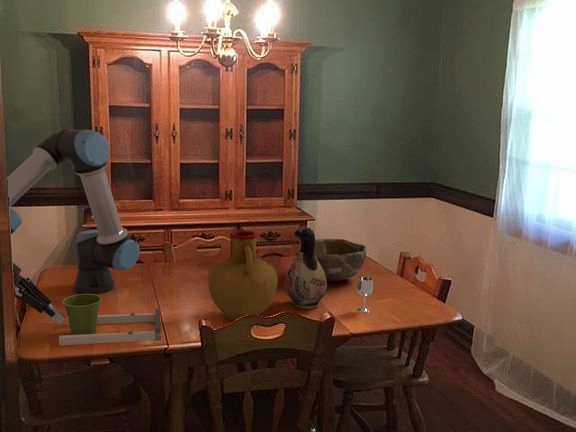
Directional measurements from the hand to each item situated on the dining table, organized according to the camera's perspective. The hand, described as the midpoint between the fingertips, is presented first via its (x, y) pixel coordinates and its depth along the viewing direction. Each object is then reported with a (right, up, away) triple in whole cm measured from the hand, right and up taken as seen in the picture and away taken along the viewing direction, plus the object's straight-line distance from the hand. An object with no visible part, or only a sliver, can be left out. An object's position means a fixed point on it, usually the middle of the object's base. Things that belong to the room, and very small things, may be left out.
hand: (62, 320), depth 196 cm
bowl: (+90, +6, +67) cm, 112 cm away
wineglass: (+98, -2, +31) cm, 103 cm away
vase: (+55, -3, +20) cm, 59 cm away
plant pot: (+6, -5, +3) cm, 8 cm away
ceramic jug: (+77, 0, +34) cm, 85 cm away
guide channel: (+14, -4, +5) cm, 16 cm away
